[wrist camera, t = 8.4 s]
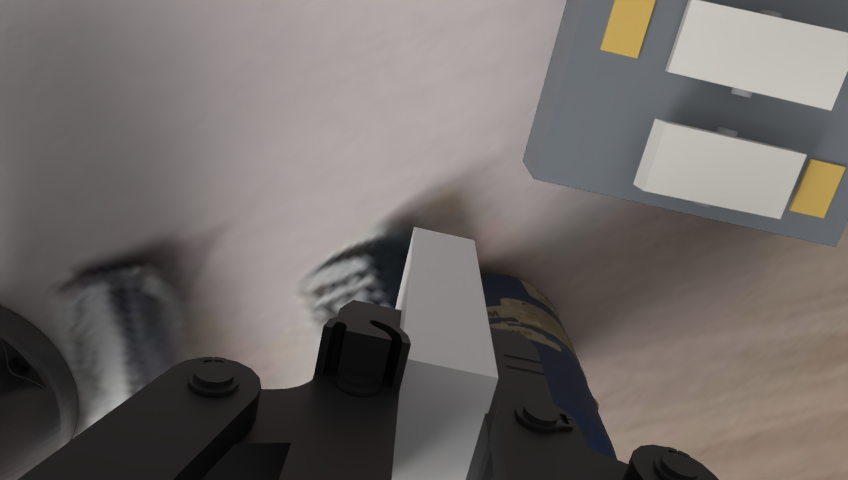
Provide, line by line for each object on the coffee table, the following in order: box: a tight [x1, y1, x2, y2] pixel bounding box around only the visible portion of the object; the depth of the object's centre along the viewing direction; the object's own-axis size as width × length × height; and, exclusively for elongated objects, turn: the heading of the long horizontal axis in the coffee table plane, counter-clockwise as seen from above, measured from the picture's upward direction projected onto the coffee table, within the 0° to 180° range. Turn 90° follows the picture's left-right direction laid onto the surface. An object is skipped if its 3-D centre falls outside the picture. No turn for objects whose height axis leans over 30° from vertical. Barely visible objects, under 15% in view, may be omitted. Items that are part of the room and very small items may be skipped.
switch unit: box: [523, 0, 848, 247], centre depth 37 cm, size 18×18×5 cm
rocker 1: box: [665, 0, 848, 110], centre depth 34 cm, size 8×4×2 cm, turn 78°
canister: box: [481, 275, 617, 460], centre depth 37 cm, size 10×10×18 cm
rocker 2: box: [633, 119, 807, 219], centre depth 35 cm, size 8×4×2 cm, turn 77°
